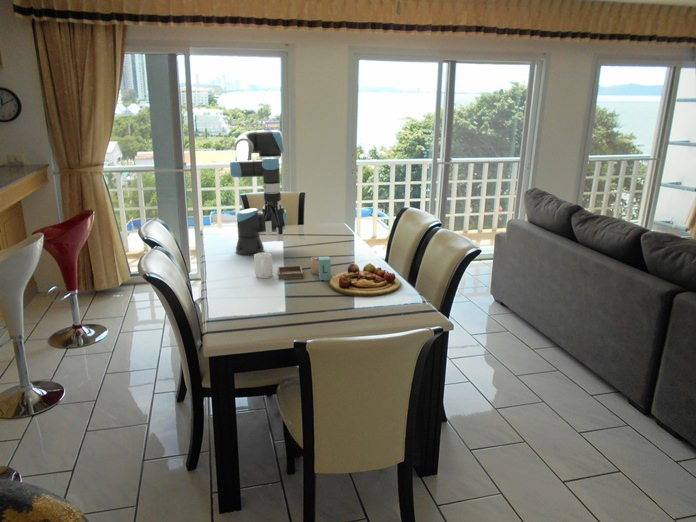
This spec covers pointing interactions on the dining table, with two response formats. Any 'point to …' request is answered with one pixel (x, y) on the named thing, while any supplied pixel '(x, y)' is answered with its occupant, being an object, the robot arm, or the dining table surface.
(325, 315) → the dining table surface
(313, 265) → the terracotta pot
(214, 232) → the dining table surface
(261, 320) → the dining table surface
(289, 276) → the walnut box
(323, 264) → the teal block
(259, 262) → the mug
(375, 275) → the wooden plate with food
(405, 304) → the dining table surface
